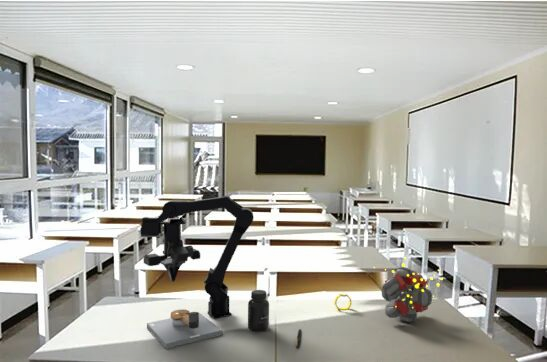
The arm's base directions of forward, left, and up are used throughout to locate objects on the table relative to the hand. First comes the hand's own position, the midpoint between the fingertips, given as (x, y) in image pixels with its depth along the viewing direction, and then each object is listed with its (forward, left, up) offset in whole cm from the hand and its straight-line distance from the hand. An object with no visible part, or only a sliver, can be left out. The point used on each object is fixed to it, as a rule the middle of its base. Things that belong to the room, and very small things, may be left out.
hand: (172, 281), depth 147 cm
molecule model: (-64, +48, -12) cm, 81 cm away
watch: (-54, +28, -12) cm, 62 cm away
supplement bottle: (-19, +26, -12) cm, 34 cm away
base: (+2, +15, -12) cm, 19 cm away
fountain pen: (-25, +39, -12) cm, 48 cm away
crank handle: (+2, +16, -8) cm, 18 cm away
